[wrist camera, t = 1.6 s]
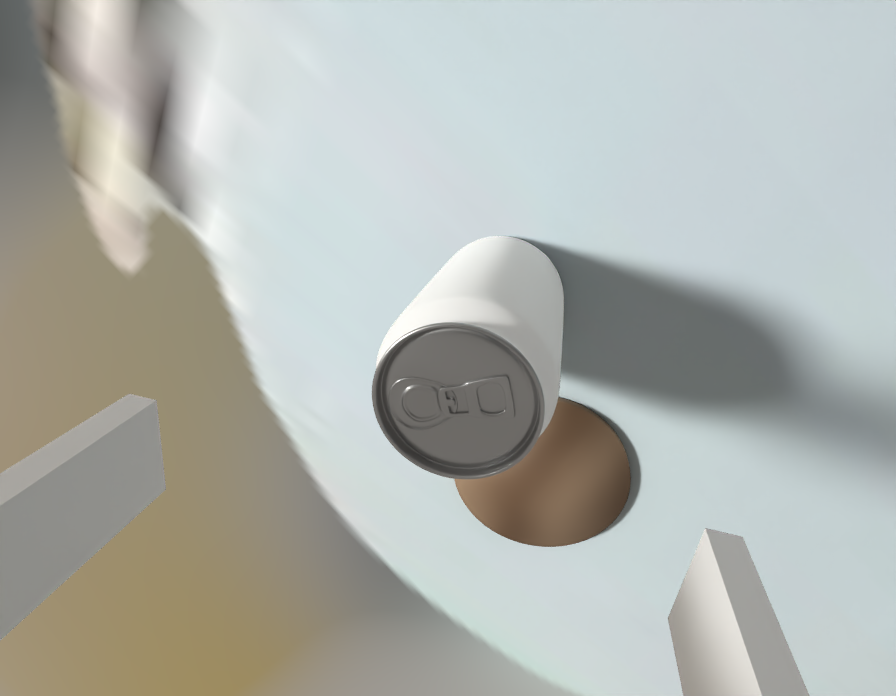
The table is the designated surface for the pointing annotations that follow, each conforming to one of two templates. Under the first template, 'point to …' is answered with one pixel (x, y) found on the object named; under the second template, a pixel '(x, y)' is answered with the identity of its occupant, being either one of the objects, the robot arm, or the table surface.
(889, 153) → the table surface
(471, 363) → the can
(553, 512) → the coaster
